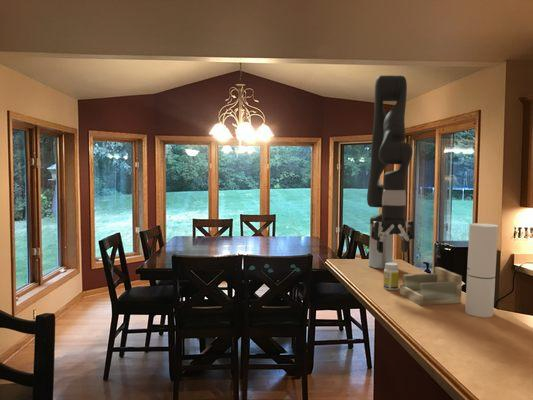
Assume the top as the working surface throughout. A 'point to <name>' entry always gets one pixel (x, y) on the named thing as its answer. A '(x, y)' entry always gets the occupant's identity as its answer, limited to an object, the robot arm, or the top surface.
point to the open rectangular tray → (432, 287)
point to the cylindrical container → (481, 269)
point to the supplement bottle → (391, 276)
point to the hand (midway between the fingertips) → (392, 252)
